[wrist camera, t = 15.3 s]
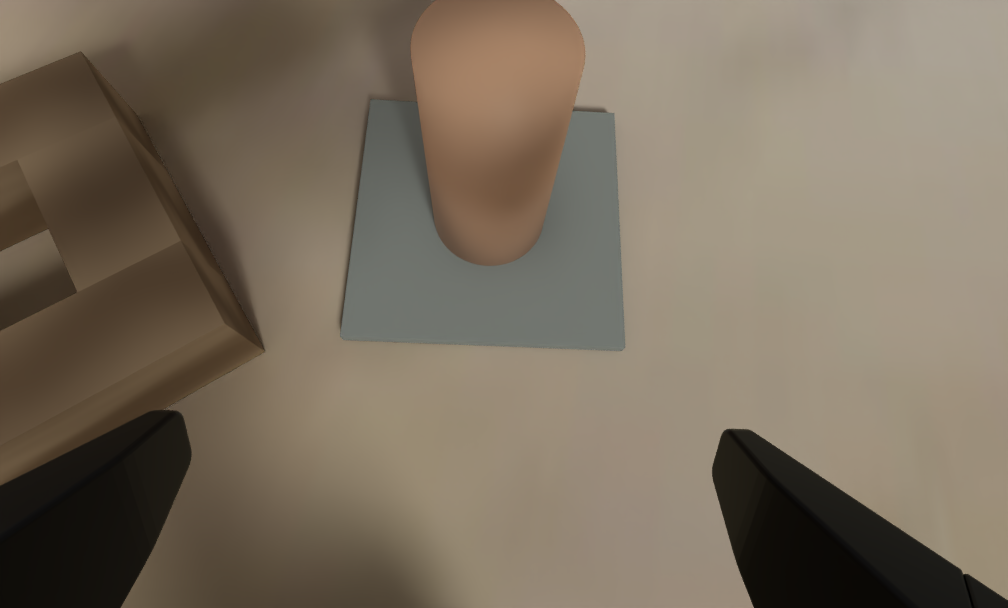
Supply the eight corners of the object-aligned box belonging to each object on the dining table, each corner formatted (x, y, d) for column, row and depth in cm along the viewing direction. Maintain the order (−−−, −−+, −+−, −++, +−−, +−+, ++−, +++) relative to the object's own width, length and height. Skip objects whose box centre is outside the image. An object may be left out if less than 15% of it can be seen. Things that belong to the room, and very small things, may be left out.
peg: (565, 231, 25) (620, 72, 16) (472, 285, 24) (471, 150, 15) (504, 151, 26) (521, -41, 17) (413, 199, 25) (377, 23, 16)
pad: (621, 350, 24) (625, 347, 24) (343, 340, 24) (340, 335, 23) (611, 120, 28) (614, 113, 27) (372, 107, 28) (370, 99, 27)
